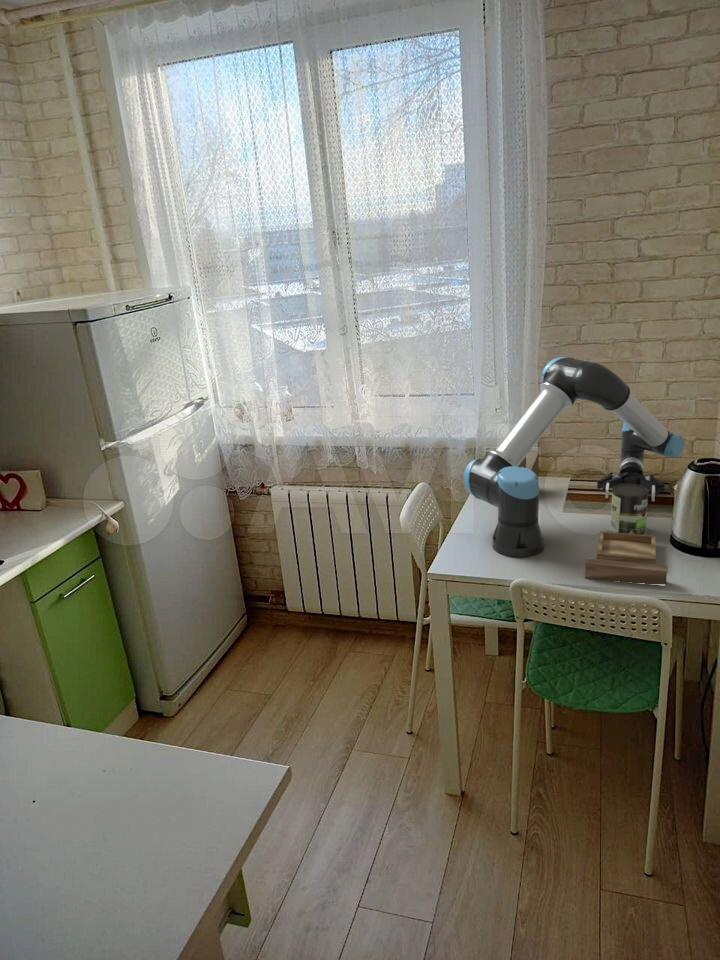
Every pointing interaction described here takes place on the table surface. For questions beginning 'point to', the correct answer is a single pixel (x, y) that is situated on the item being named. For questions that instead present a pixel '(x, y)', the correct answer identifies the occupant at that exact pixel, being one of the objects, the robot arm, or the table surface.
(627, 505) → the coffee can
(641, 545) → the brown wooden tray
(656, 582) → the block
